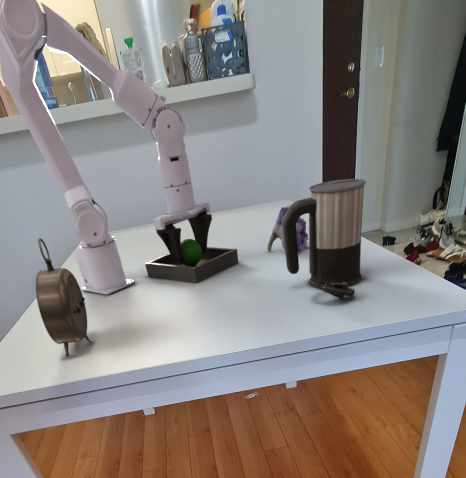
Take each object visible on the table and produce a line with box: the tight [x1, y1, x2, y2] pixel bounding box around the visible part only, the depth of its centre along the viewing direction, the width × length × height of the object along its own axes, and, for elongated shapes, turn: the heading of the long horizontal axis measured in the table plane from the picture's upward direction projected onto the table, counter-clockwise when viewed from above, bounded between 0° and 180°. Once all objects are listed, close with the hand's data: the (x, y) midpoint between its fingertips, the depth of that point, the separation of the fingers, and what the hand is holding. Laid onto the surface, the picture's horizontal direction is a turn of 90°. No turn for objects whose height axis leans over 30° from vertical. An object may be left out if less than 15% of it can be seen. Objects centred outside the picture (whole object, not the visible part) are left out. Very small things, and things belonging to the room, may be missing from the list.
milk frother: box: [283, 178, 367, 301], centre depth 76 cm, size 14×16×15 cm
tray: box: [144, 246, 239, 284], centre depth 101 cm, size 16×14×3 cm
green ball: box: [181, 238, 202, 267], centre depth 99 cm, size 5×5×5 cm
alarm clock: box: [34, 237, 93, 358], centre depth 72 cm, size 11×5×16 cm, turn 5°
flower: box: [267, 205, 309, 253], centre depth 100 cm, size 9×9×10 cm
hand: (190, 258), depth 100 cm, fingers open, 7 cm apart
